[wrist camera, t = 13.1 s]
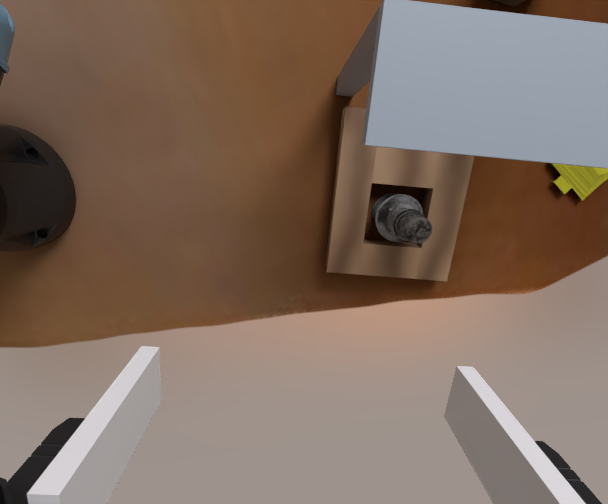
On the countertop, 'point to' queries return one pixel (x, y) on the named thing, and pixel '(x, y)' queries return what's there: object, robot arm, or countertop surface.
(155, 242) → the countertop surface
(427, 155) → the socket
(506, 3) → the beer bottle
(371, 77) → the grey arch frame
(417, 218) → the grey chess piece
